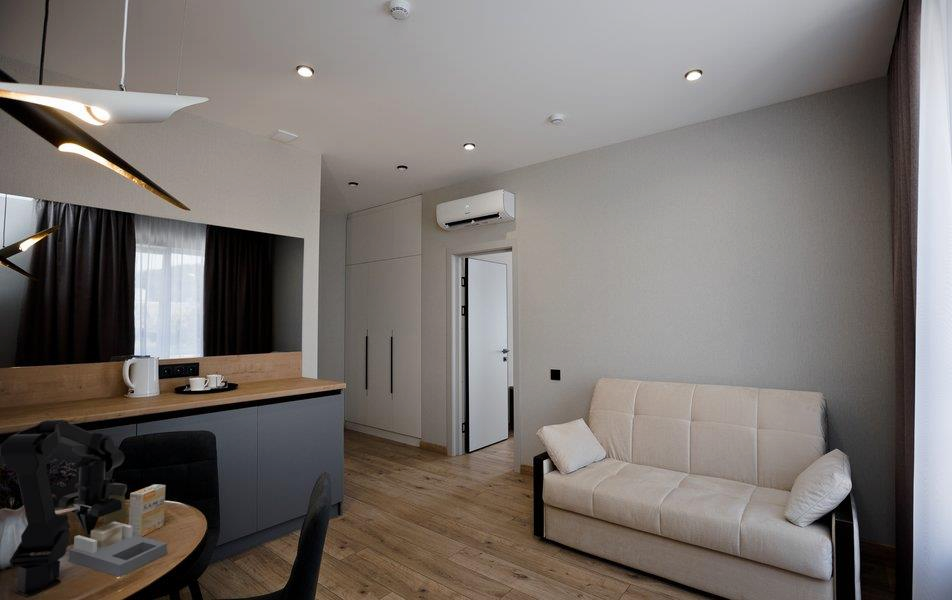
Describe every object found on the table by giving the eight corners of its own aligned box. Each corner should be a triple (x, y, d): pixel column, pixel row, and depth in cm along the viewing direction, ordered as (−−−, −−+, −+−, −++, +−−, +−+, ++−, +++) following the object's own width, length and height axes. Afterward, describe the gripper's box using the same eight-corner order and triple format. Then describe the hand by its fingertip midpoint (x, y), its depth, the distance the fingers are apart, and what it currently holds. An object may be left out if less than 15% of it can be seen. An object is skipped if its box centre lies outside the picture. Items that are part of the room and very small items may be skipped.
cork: (116, 523, 143) (118, 488, 143) (98, 523, 143) (100, 488, 143) (131, 515, 149) (133, 482, 149) (113, 515, 149) (115, 481, 149)
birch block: (101, 548, 121) (102, 533, 122) (90, 545, 123) (90, 530, 123) (121, 540, 126) (122, 525, 126) (110, 537, 128) (110, 523, 128)
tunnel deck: (119, 577, 113) (120, 553, 114) (68, 560, 121) (70, 538, 121) (166, 554, 125) (167, 532, 125) (117, 540, 132) (118, 520, 132)
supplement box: (140, 538, 133) (142, 494, 134) (127, 536, 134) (129, 493, 135) (164, 526, 141) (166, 484, 142) (152, 524, 142) (154, 483, 143)
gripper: (143, 473, 132) (140, 527, 132) (102, 466, 139) (100, 516, 138) (100, 486, 122) (97, 544, 121) (59, 477, 128) (56, 532, 127)
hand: (89, 533), depth 127 cm, fingers closed
